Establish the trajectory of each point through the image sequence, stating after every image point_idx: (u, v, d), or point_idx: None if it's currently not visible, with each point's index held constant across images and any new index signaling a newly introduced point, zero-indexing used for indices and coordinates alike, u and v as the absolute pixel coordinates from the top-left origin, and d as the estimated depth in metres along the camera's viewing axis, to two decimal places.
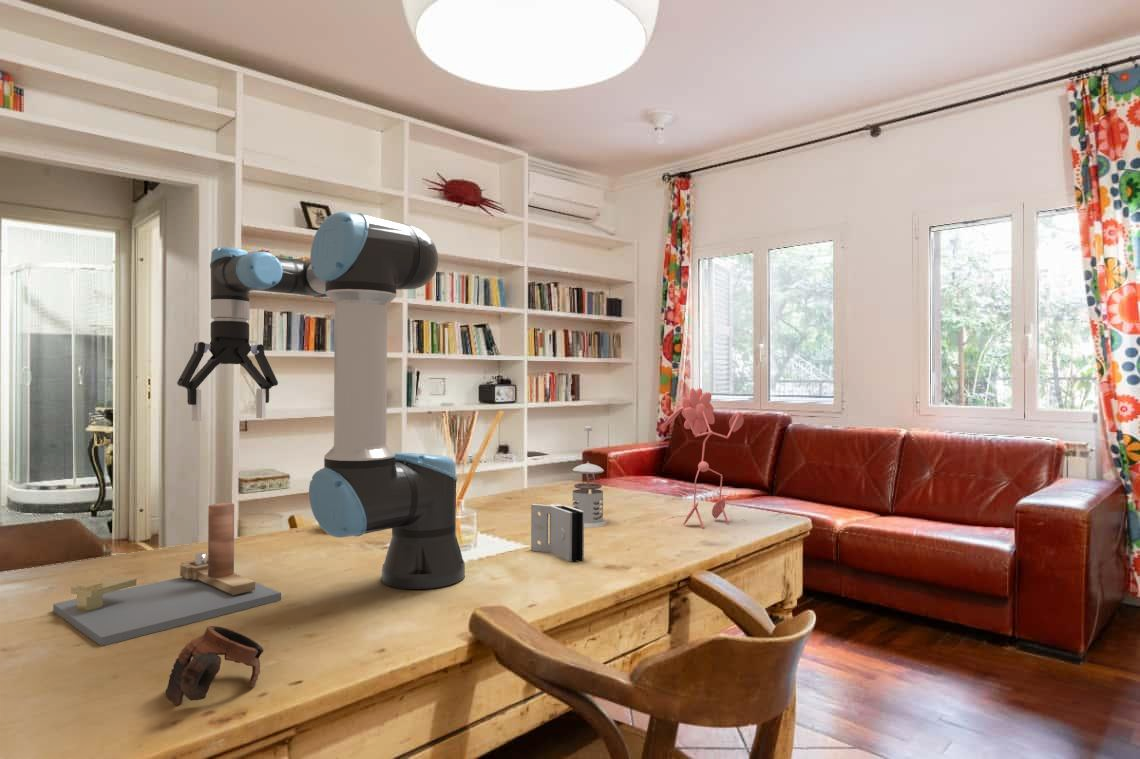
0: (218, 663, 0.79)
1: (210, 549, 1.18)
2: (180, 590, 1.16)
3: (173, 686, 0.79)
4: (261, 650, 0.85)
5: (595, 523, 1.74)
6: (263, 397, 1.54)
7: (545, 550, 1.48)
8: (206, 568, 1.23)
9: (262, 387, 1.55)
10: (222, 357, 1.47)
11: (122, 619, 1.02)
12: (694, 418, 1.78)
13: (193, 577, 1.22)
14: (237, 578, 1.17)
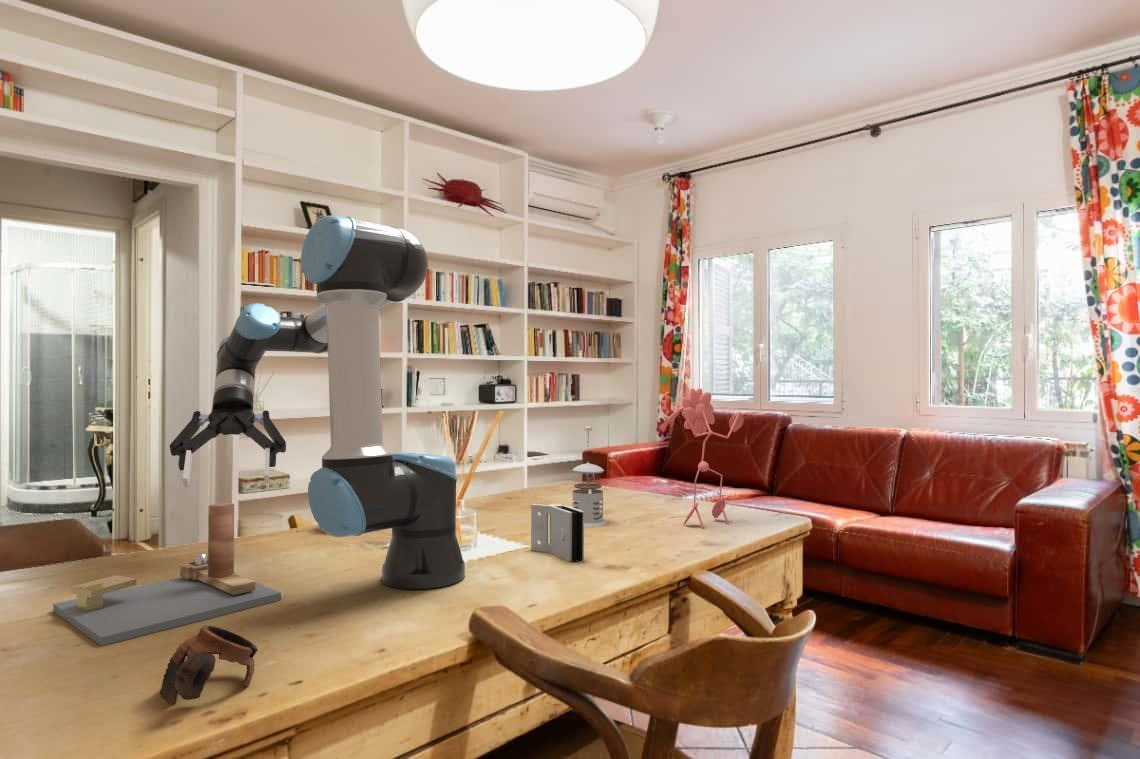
0: (212, 662, 0.79)
1: (210, 549, 1.18)
2: (180, 590, 1.16)
3: (168, 685, 0.79)
4: (255, 649, 0.85)
5: (595, 523, 1.74)
6: (266, 455, 1.34)
7: (545, 550, 1.48)
8: (206, 568, 1.23)
9: None
10: (218, 420, 1.36)
11: (122, 619, 1.02)
12: (694, 418, 1.78)
13: (193, 577, 1.22)
14: (237, 578, 1.17)
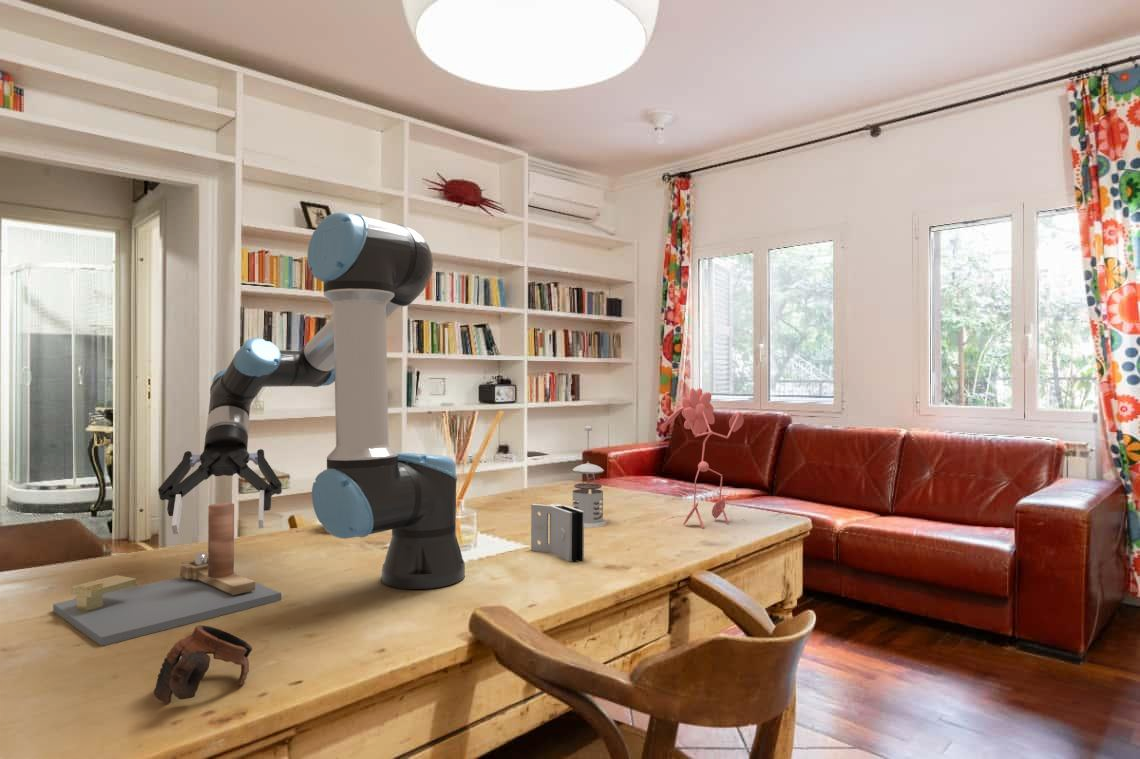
0: (207, 662, 0.80)
1: (210, 549, 1.18)
2: (180, 590, 1.16)
3: (162, 685, 0.80)
4: (250, 649, 0.85)
5: (595, 523, 1.74)
6: (260, 498, 1.27)
7: (545, 550, 1.48)
8: (206, 568, 1.23)
9: None
10: (210, 461, 1.29)
11: (122, 619, 1.02)
12: (694, 418, 1.78)
13: (193, 577, 1.22)
14: (237, 578, 1.17)
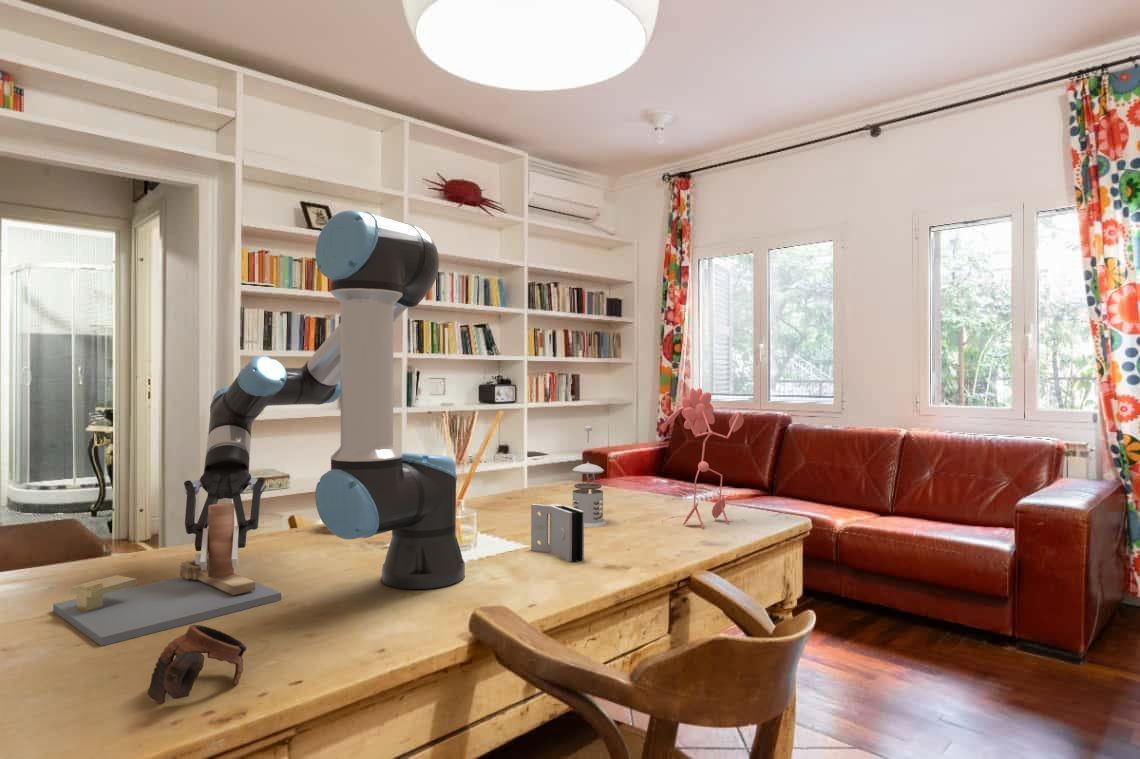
0: (201, 661, 0.80)
1: (210, 549, 1.18)
2: (180, 590, 1.16)
3: (156, 685, 0.80)
4: (244, 648, 0.85)
5: (595, 523, 1.74)
6: (235, 535, 1.19)
7: (545, 550, 1.48)
8: (206, 568, 1.23)
9: None
10: (215, 485, 1.24)
11: (122, 619, 1.02)
12: (694, 418, 1.78)
13: (193, 577, 1.22)
14: (237, 578, 1.17)
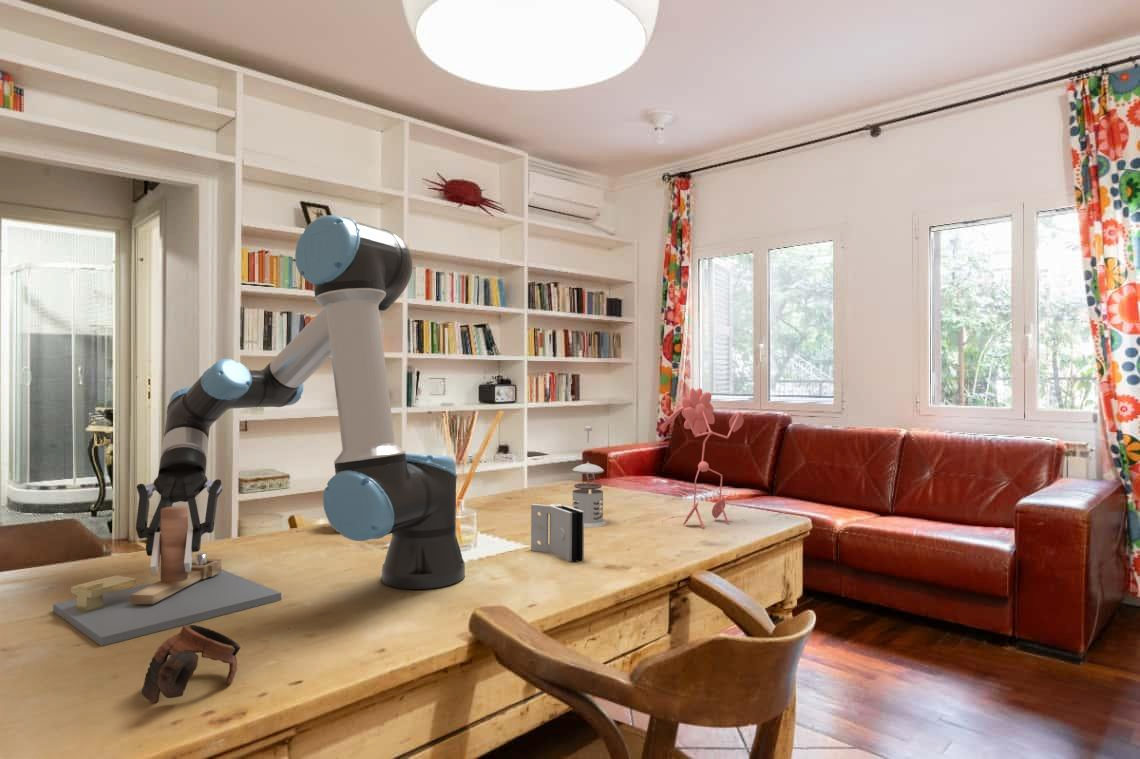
0: (195, 661, 0.80)
1: None
2: (180, 590, 1.16)
3: (150, 684, 0.80)
4: (238, 647, 0.86)
5: (595, 523, 1.74)
6: (188, 539, 1.16)
7: (545, 550, 1.48)
8: None
9: None
10: (169, 488, 1.22)
11: (122, 619, 1.02)
12: (694, 418, 1.78)
13: None
14: (160, 587, 1.12)
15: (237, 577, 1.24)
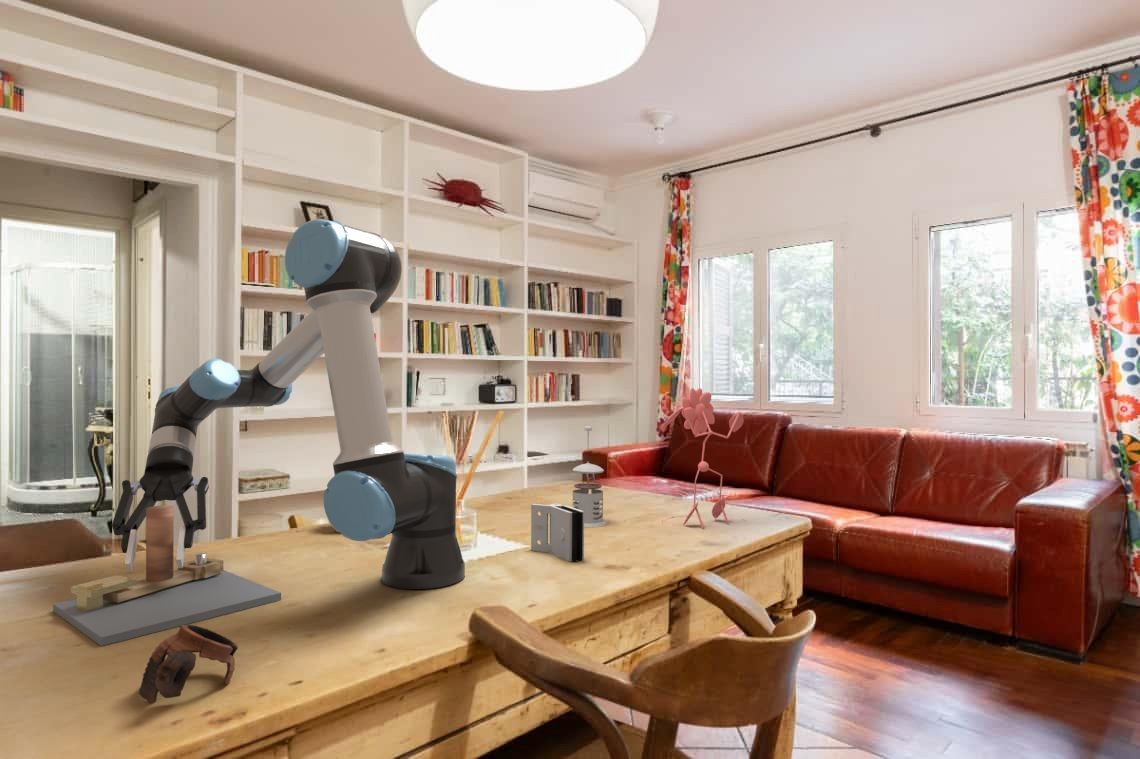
0: (193, 660, 0.80)
1: None
2: (180, 590, 1.16)
3: (147, 684, 0.80)
4: (236, 647, 0.86)
5: (595, 523, 1.74)
6: (180, 535, 1.18)
7: (545, 550, 1.48)
8: (185, 569, 1.22)
9: None
10: (153, 487, 1.22)
11: (122, 619, 1.02)
12: (694, 418, 1.78)
13: None
14: (135, 586, 1.13)
15: (237, 577, 1.24)
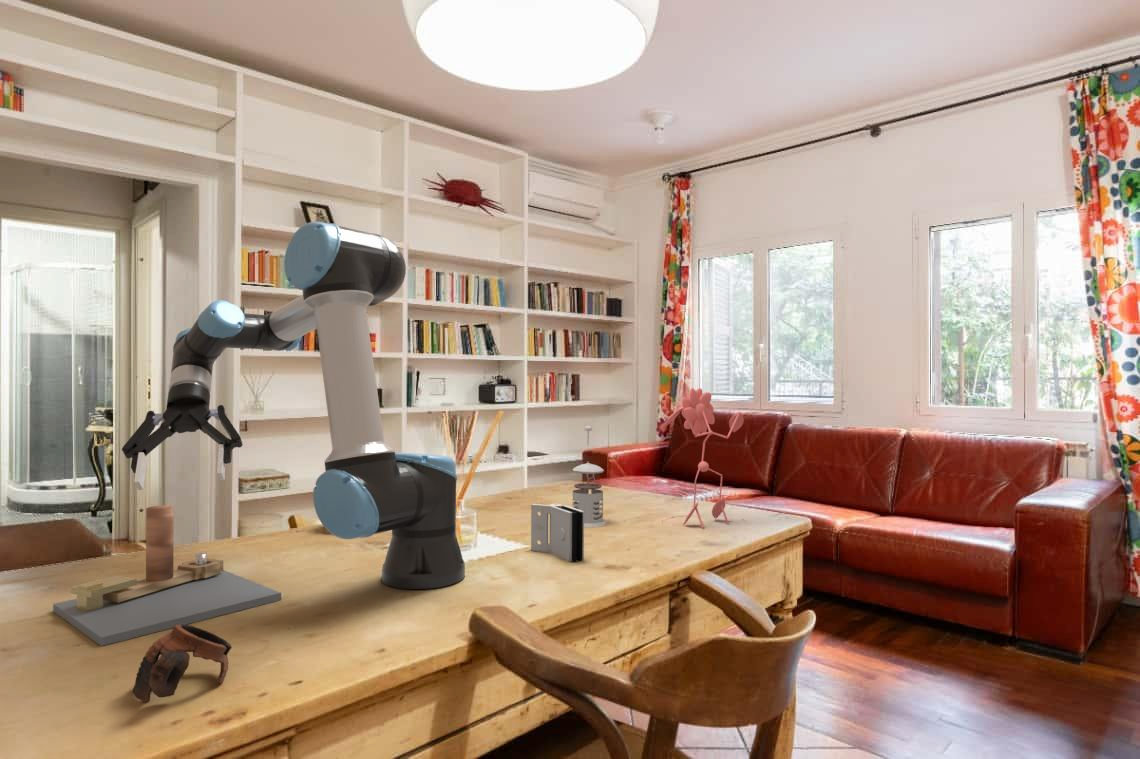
0: (187, 660, 0.80)
1: None
2: (180, 590, 1.16)
3: (141, 684, 0.80)
4: (229, 647, 0.86)
5: (595, 523, 1.74)
6: (220, 452, 1.32)
7: (545, 550, 1.48)
8: (185, 569, 1.22)
9: None
10: (171, 419, 1.34)
11: (122, 619, 1.02)
12: (694, 418, 1.78)
13: None
14: (135, 586, 1.13)
15: (237, 577, 1.24)
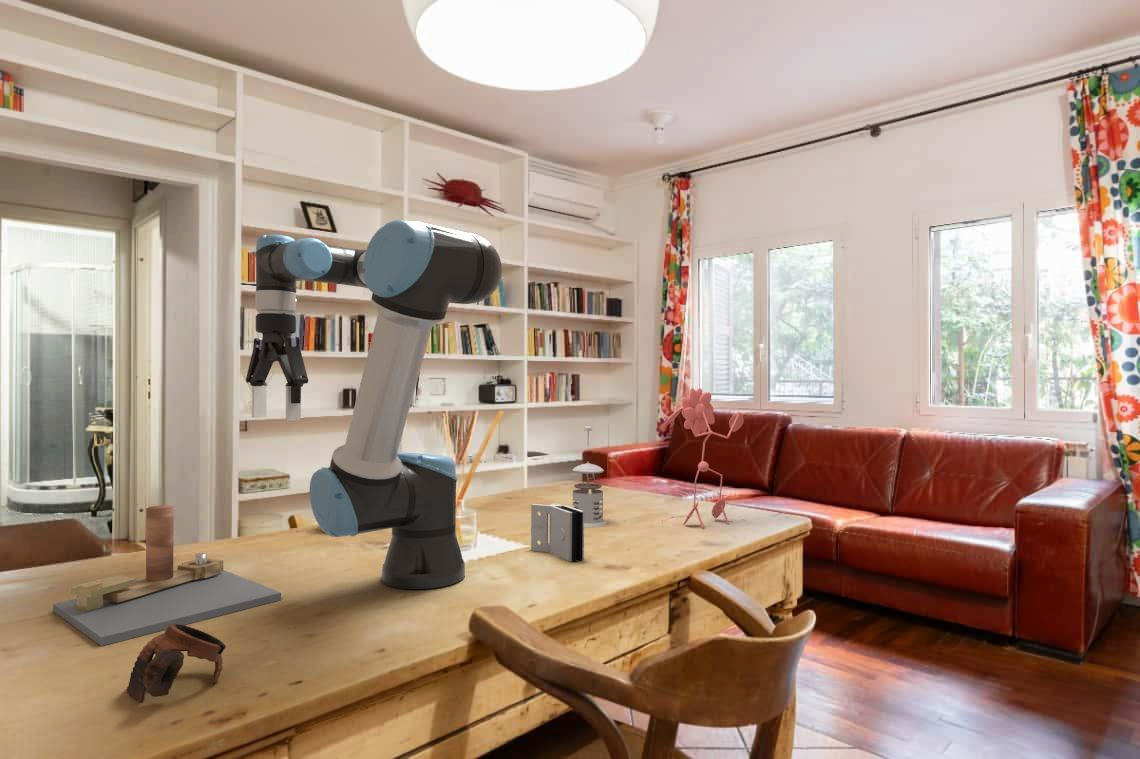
0: (181, 659, 0.80)
1: None
2: (180, 590, 1.16)
3: (135, 683, 0.80)
4: (223, 646, 0.86)
5: (595, 523, 1.74)
6: (286, 396, 1.34)
7: (545, 550, 1.48)
8: (185, 569, 1.22)
9: None
10: (262, 352, 1.40)
11: (122, 619, 1.02)
12: (694, 418, 1.78)
13: None
14: (135, 586, 1.13)
15: (237, 577, 1.24)
